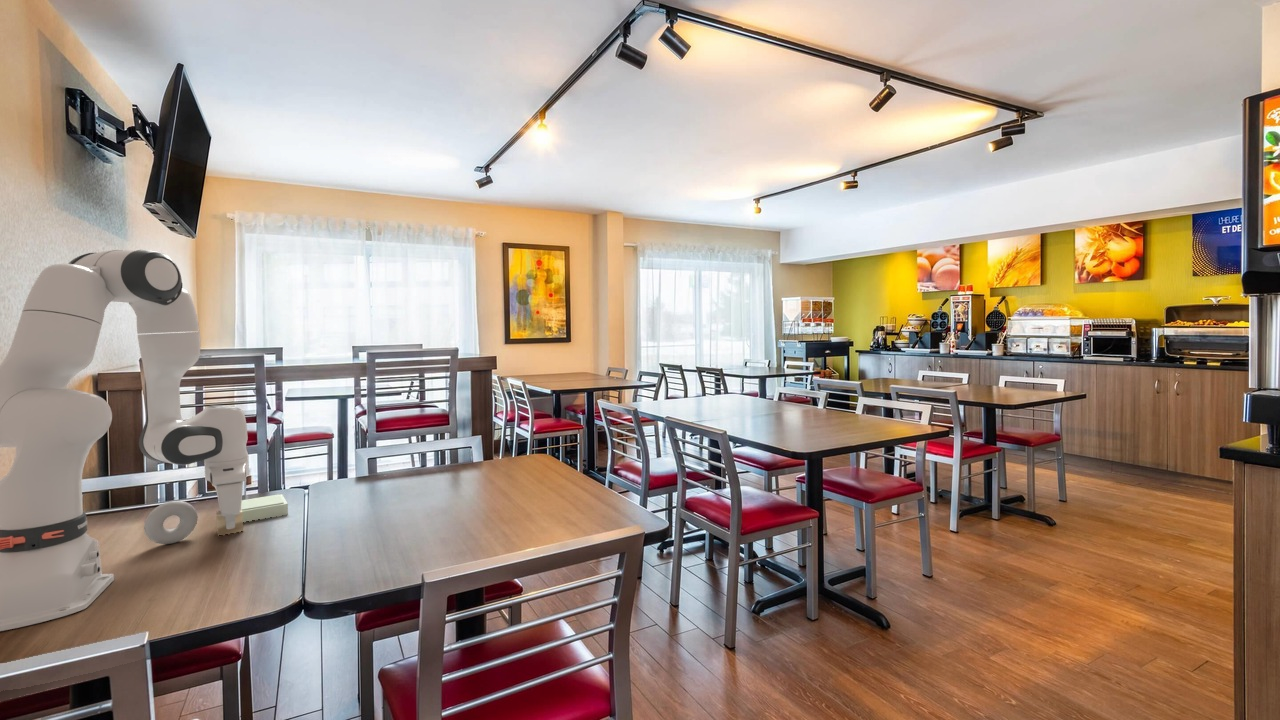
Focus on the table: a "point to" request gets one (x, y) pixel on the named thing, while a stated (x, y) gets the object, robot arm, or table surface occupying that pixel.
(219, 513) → the maple cube
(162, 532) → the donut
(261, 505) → the pedestal
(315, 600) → the table surface
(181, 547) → the table surface
